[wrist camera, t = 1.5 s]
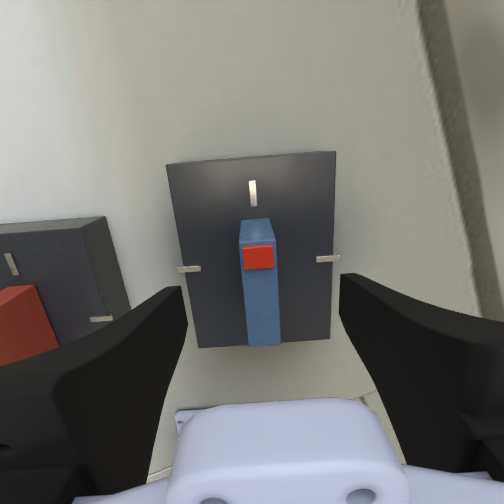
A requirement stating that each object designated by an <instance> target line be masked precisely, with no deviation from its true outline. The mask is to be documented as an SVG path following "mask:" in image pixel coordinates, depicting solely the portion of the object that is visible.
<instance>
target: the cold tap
mask: <svg viewBox="0 0 504 504" xmlns="http://www.w3.org/2000/svg"><path fill="white" fill-rule="evenodd" d="M239 252H240V262H241V273H242V283H243V293H244V303H245V313H246V324H247V334H248V344H249V346H264V345H278V344H281V338H280V316H279V295H278V273H277V251H276V239H275V236H274V232H273V229H272V226H271V223H270V220H269V218H261V219H248V220H241V225H240V235H239Z"/></svg>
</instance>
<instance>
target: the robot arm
mask: <svg viewBox="0 0 504 504" xmlns="http://www.w3.org/2000/svg"><path fill="white" fill-rule="evenodd" d="M339 315H340V318H341V321H342V323H343V326H344V328H345V331H346V333H347V335H348V337H349V338H350V340H351V342H352V344H353V346H354V347H355V349H356V351H357V353H358V355H359V356H360V358H361V360H362V362H363V363H364V365H365V367H366V369H367V370H368V372H369V374H370V376H371V378H372V380H373V382H374V384H375V386H376V388H377V390H378V393H379V395H380V397H381V400H382V402H383V404H384V407H385V409H386V411H387V414H388V416H389V419H390V421H391V424H392V426H393V429H394V431H395V434H396V436H397V439H398V441H399V444H400V447H401V449H402V452H403V455H404V457H405V460H406V463H407V465H406V464H401V463H400V461H399V459H398V457H397V455H396V452H395V450H394V448H393V446H392V444H391V442H390V440H389V438H388V436H387V434H386V432H385V430H384V428H383V426H382V424H381V422H380V420H379V418H378V416H377V414H376V413H375V412H374V411H372V410H371V409H369V408H368V407H367V406H365V405H364V404H362V403H361V402H360V401H356V400H349V399H341V398H334V397H329V398H314V399H299V400H284V401H269V402H254V403H239V404H224V405H219V406H216V407H212V408H208V409H202V410H187V411H178V412H176V413H175V416H174V420H175V424H176V428H177V432H178V436H179V439H178V443H177V447H176V451H175V456H174V460H173V464H172V468H171V472H170V476H169V477H166V478H163V479H160V480H157V481H154V482H150V483H147V484H146V482H147V477H148V472H149V467H150V462H151V457H152V452H153V447H154V442H155V438H156V433H157V429H158V425H159V420H160V416H161V412H162V408H163V404H164V400H165V396H166V393H167V390H168V387H169V384H170V381H171V379H172V376H173V373H174V370H175V368H176V365H177V362H178V359H179V357H180V354H181V351H182V348H183V345H184V342H185V337H186V332H187V327H188V321H187V316H186V310H185V305H184V300H183V295H182V290H181V286H171V287H166V288H164V289H162V290H161V291H159V292H158V293H156V294H155V295H153V296H152V297H150V298H149V299H147V300H146V301H144V302H143V303H141V304H140V305H139V306H137V307H136V308H134V309H132V310H131V311H129V312H128V313H126V314H124V315H123V316H121V317H120V318H118V319H116V320H115V321H113V322H111V323H109V324H107V325H106V326H104V327H102V328H100V329H98V330H96V331H94V332H92V333H90V334H88V335H85V336H83V337H81V338H78V339H76V340H74V341H72V342H69V343H67V344H65V345H62V346H60V347H57V348H54V349H52V350H49V351H46V352H43V353H41V354H38V355H35V356H32V357H29V358H26V359H23V360H19V361H16V362H13V363H9V364H6V365H2V366H0V504H504V322H500V321H495V320H489V319H484V318H480V317H475V316H471V315H467V314H463V313H459V312H455V311H451V310H447V309H444V308H441V307H437V306H434V305H431V304H428V303H425V302H422V301H419V300H417V299H414V298H411V297H409V296H406V295H404V294H401V293H399V292H397V291H394V290H392V289H390V288H388V287H385V286H383V285H381V284H379V283H377V282H375V281H373V280H370V279H368V278H366V277H364V276H361V275H359V274H356V273H347V274H340V296H339Z"/></svg>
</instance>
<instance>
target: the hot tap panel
mask: <svg viewBox="0 0 504 504" xmlns="http://www.w3.org/2000/svg"><path fill="white" fill-rule="evenodd" d="M33 284H34V285H35V287H36V290H37V292H38V295H39V297H40V300H41V302H42V304H43V307H44V309H45V312H46V314H47V317H48V319H49V322H50V324H51V327H52V329H53V332H54V334H55V337H56V339H57V341H58V344H59V346H62V345H65V344H67V343H69V342H72V341H74V340H76V339H78V338H81V337H83V336H85V335H88V334H90V333H92V332H94V331H96V330H98V329H100V328H102V327H104V326H106V325H107V324H109V323H111V322H113V321H115V320H116V319H118V318H120V317H121V316H123V315H124V314H126V313H128V312H129V311H131V309H130V305H129V302H128V298H127V295H126V291H125V287H124V284H123V280H122V276H121V273H120V269H119V265H118V262H117V258H116V254H115V251H114V247H113V243H112V240H111V236H110V232H109V229H108V225H107V221H106V218H105V216H100V217H88V218H75V219H62V220H49V221H36V222H23V223H10V224H0V291H2V290H3V289H5V288H7V287H9V286H20V285H33Z"/></svg>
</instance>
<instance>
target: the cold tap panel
mask: <svg viewBox="0 0 504 504" xmlns="http://www.w3.org/2000/svg"><path fill="white" fill-rule="evenodd" d="M166 170H167V175H168V181H169V187H170V192H171V198H172V203H173V209H174V214H175V220H176V225H177V231H178V237H179V242H180V248H181V253H182V259H183V264H184V266H179V267H177V269H178V273H183V272H185V275H186V281H187V287H188V292H189V298H190V303H191V309H192V314H193V320H194V325H195V331H196V337H197V342H198V347H199V348H211V347H225V346H239V345H249V344H248V334H247V324H246V313H245V303H244V293H243V283H242V273H241V262H240V252H239V235H240V225H241V220H248V219H261V218H269V220H270V223H271V226H272V229H273V232H274V236H275V239H276V251H277V273H278V295H279V316H280V338H281V343H282V342H296V341H310V340H324V339H330V325H331V295H332V265H333V261H340V255H333V235H334V205H335V175H336V151H317V152H304V153H292V154H280V155H267V156H255V157H242V158H230V159H217V160H205V161H192V162H180V163H173V164H167V165H166Z"/></svg>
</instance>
